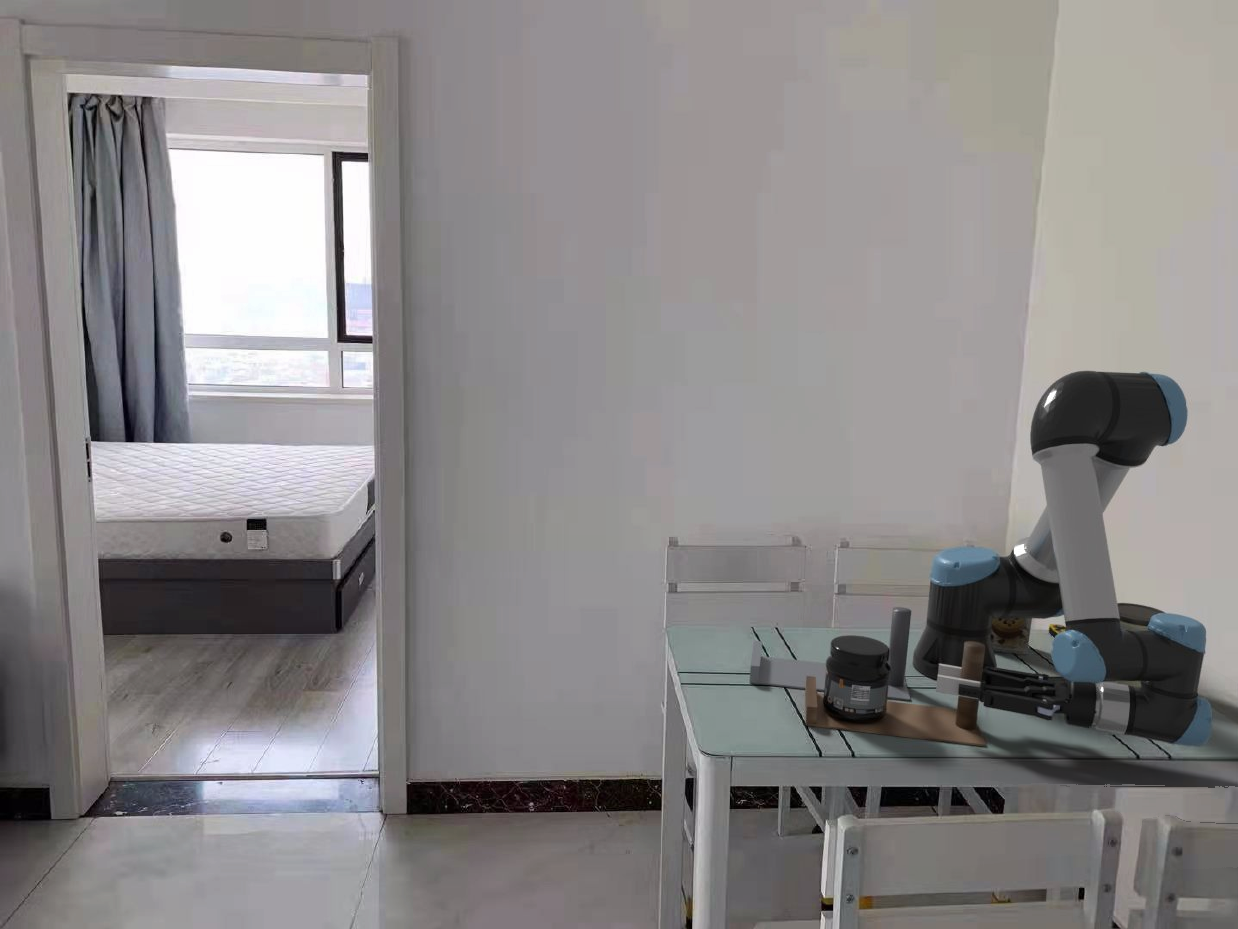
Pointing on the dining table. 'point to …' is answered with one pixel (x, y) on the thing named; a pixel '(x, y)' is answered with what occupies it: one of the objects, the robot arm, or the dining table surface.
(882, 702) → the supplement container
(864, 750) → the dining table surface
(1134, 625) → the coffee can
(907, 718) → the wooden peg stand
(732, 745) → the dining table surface
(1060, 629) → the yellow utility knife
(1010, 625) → the cookie box
